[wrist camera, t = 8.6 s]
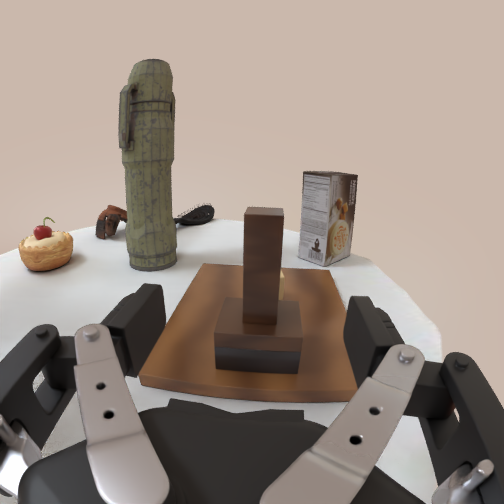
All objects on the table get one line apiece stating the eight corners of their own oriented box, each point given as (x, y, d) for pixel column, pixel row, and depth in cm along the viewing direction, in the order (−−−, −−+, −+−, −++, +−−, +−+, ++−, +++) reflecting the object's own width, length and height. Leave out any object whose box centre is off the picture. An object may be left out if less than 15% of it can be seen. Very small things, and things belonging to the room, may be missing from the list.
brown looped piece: (94, 234, 68) (105, 204, 69) (126, 246, 72) (137, 217, 73) (89, 234, 57) (102, 199, 58) (126, 249, 61) (139, 214, 62)
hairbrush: (139, 223, 65) (196, 201, 86) (140, 238, 66) (196, 213, 87) (166, 227, 62) (220, 203, 83) (167, 243, 63) (220, 215, 85)
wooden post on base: (215, 369, 24) (209, 217, 19) (225, 330, 29) (224, 202, 25) (297, 374, 23) (316, 222, 19) (294, 334, 29) (307, 206, 24)
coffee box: (324, 248, 60) (331, 170, 55) (350, 256, 56) (359, 174, 51) (296, 257, 54) (302, 170, 49) (324, 267, 50) (333, 174, 45)
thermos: (190, 254, 55) (191, 66, 43) (154, 278, 44) (152, 49, 32) (152, 248, 57) (151, 74, 45) (114, 269, 46) (109, 62, 35)
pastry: (12, 273, 41) (3, 228, 38) (43, 252, 53) (37, 213, 50) (55, 277, 42) (46, 226, 39) (85, 253, 53) (79, 211, 50)
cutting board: (141, 385, 23) (137, 373, 22) (203, 271, 47) (203, 263, 47) (370, 400, 21) (374, 388, 21) (327, 278, 46) (329, 269, 45)
